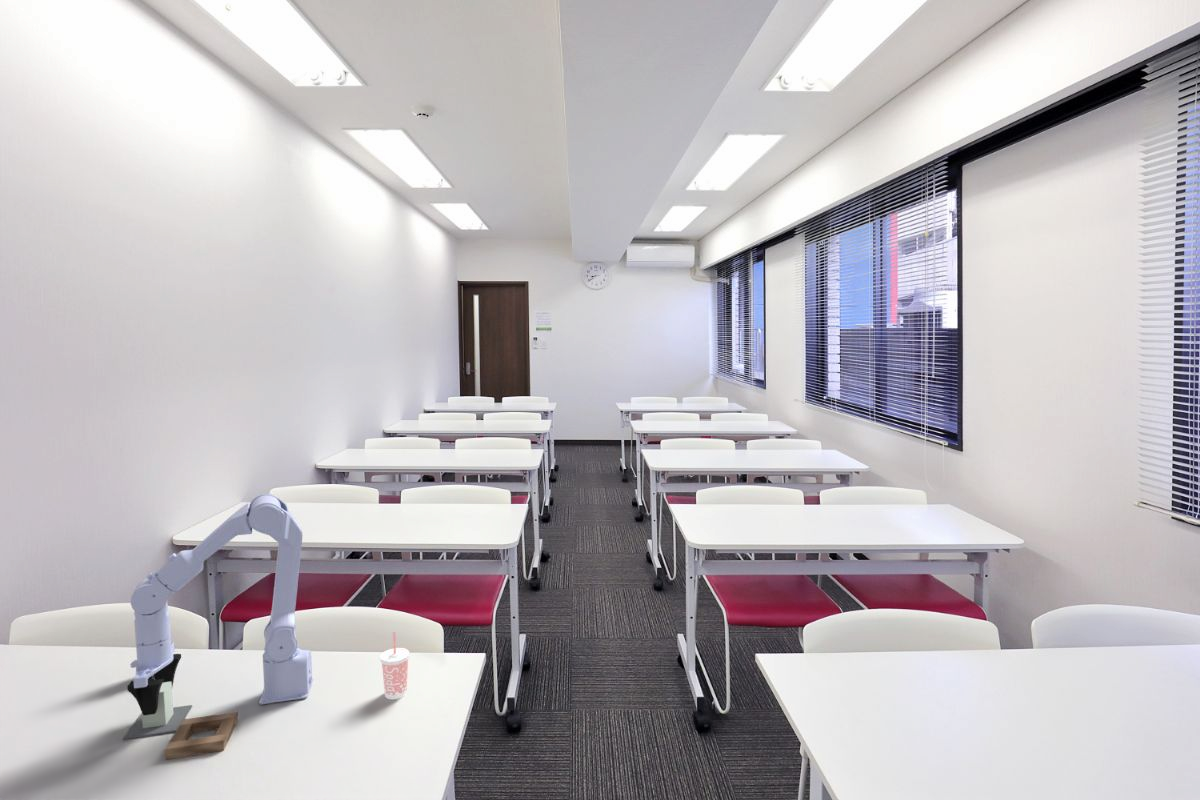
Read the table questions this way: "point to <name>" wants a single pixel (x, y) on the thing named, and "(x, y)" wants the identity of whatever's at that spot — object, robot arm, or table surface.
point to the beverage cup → (395, 671)
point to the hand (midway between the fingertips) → (157, 703)
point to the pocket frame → (186, 747)
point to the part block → (161, 708)
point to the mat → (170, 727)
